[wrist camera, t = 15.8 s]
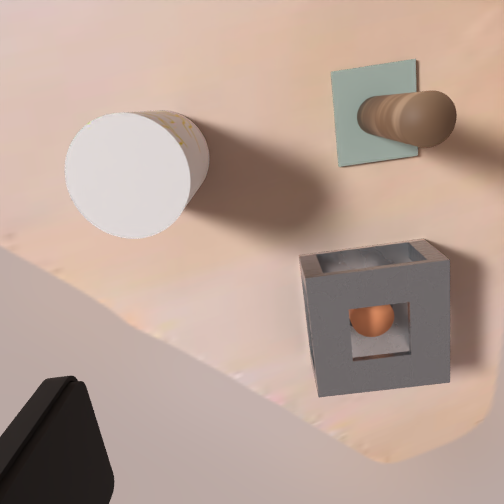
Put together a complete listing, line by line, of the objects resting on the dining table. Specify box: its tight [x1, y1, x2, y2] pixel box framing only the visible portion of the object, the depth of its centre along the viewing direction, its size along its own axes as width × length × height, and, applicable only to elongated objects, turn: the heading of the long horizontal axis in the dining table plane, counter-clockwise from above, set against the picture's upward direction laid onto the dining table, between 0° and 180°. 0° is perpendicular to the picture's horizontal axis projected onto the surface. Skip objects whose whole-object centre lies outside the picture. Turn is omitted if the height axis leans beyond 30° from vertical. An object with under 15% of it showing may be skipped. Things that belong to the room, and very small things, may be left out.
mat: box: [331, 59, 418, 167], centre depth 38 cm, size 8×7×1 cm
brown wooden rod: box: [357, 91, 457, 148], centre depth 32 cm, size 3×3×13 cm
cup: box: [65, 110, 210, 239], centre depth 34 cm, size 8×8×12 cm
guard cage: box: [299, 239, 450, 397], centre depth 41 cm, size 12×12×6 cm
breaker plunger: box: [349, 304, 394, 337], centre depth 42 cm, size 4×4×2 cm
